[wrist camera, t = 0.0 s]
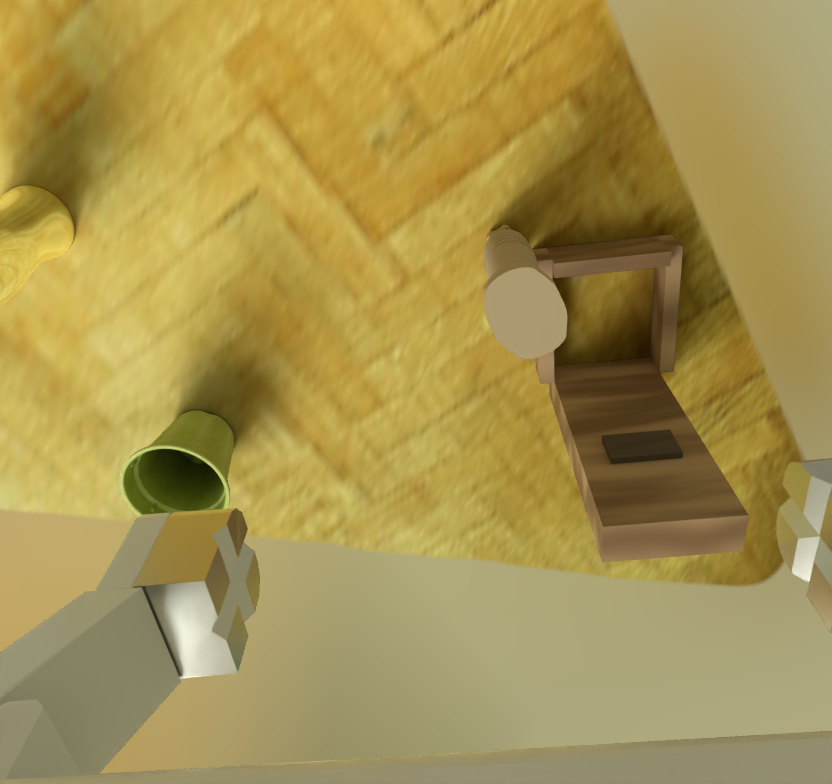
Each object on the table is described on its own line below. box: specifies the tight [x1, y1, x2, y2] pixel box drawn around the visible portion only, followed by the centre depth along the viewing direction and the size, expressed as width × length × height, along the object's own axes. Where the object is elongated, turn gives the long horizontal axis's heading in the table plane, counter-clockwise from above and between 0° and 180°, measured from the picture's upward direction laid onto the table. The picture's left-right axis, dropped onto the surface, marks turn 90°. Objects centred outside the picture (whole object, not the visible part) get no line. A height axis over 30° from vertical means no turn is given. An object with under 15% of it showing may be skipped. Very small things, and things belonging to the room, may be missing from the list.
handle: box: [484, 225, 567, 359], centre depth 51 cm, size 5×6×15 cm
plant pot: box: [120, 410, 234, 517], centre depth 64 cm, size 9×9×9 cm
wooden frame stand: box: [532, 234, 748, 562], centre depth 51 cm, size 14×11×22 cm
